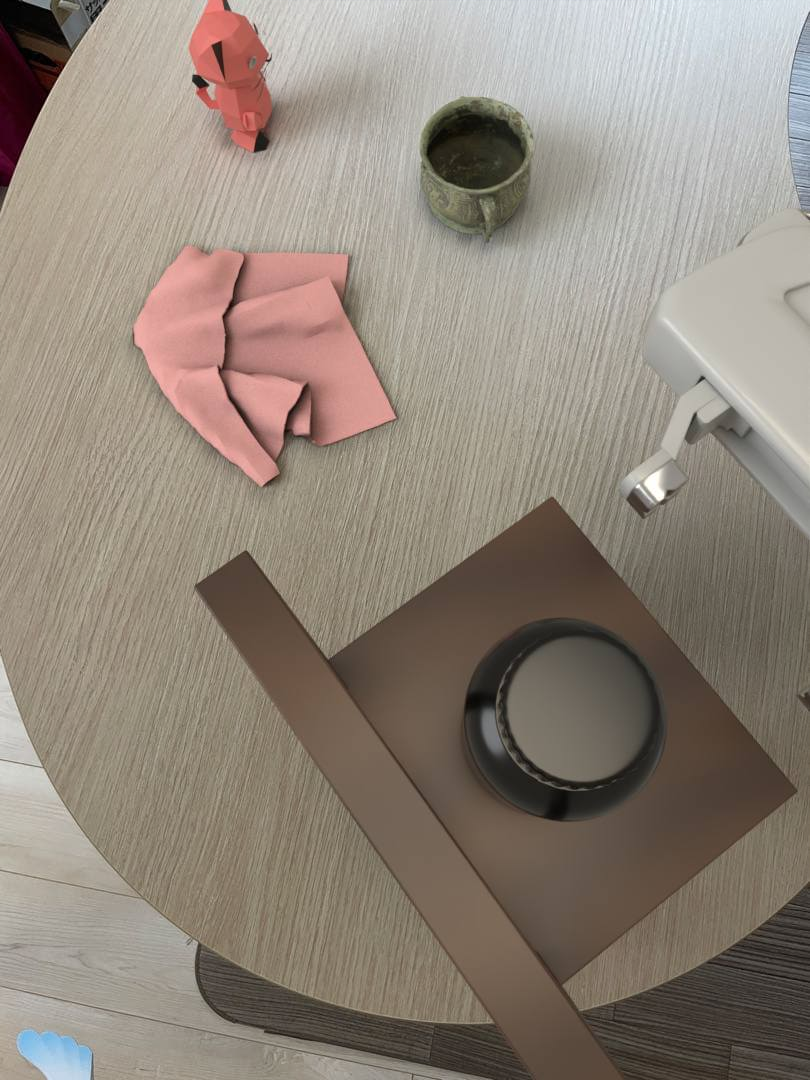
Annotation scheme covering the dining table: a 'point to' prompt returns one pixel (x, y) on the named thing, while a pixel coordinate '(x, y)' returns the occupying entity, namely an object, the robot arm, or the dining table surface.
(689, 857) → the shelf
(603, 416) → the dining table surface
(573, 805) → the supplement bottle
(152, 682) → the dining table surface
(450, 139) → the vessel
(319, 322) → the cloth
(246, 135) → the cat figurine
